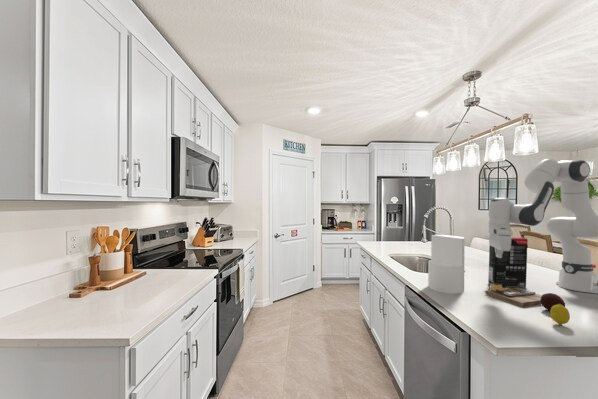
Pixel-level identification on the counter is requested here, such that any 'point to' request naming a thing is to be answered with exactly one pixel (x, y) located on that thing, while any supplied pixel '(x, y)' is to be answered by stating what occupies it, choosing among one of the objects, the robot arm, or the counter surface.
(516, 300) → the brown square board
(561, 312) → the lemon
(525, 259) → the graphics card box
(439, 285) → the cylinder
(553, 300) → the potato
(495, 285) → the block
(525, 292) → the bar
